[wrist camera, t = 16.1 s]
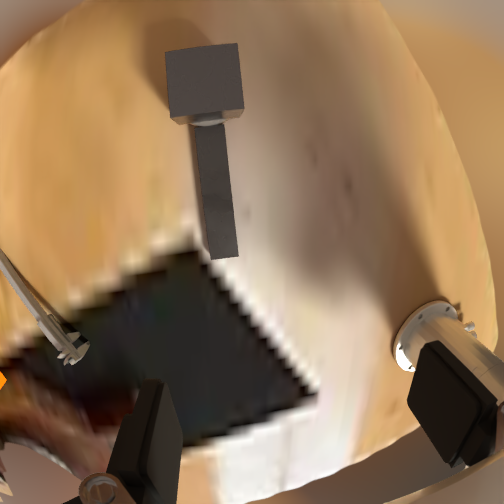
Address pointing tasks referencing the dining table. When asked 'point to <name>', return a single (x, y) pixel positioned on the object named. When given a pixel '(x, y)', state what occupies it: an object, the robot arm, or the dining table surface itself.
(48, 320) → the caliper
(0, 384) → the orange juice
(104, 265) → the dining table surface
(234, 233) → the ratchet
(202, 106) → the grey stone cube
